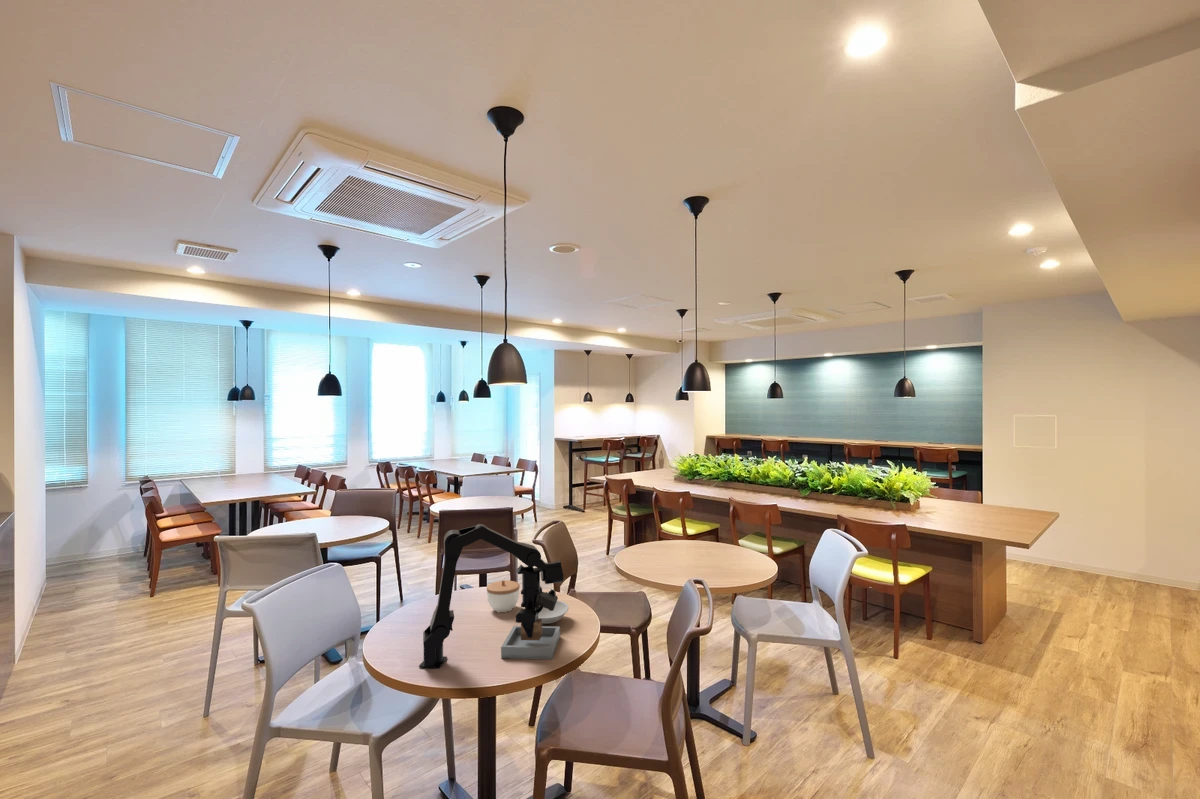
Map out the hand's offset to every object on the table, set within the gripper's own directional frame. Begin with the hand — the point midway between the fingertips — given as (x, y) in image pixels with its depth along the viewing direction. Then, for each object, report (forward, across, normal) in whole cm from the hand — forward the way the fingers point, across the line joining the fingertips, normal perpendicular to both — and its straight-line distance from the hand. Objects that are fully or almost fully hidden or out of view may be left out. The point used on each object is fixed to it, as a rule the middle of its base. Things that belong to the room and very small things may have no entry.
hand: (531, 634), depth 168 cm
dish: (+4, +20, -2) cm, 21 cm away
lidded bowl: (+4, +32, +18) cm, 37 cm away
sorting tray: (+4, 0, 0) cm, 4 cm away
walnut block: (+1, 0, 0) cm, 1 cm away
